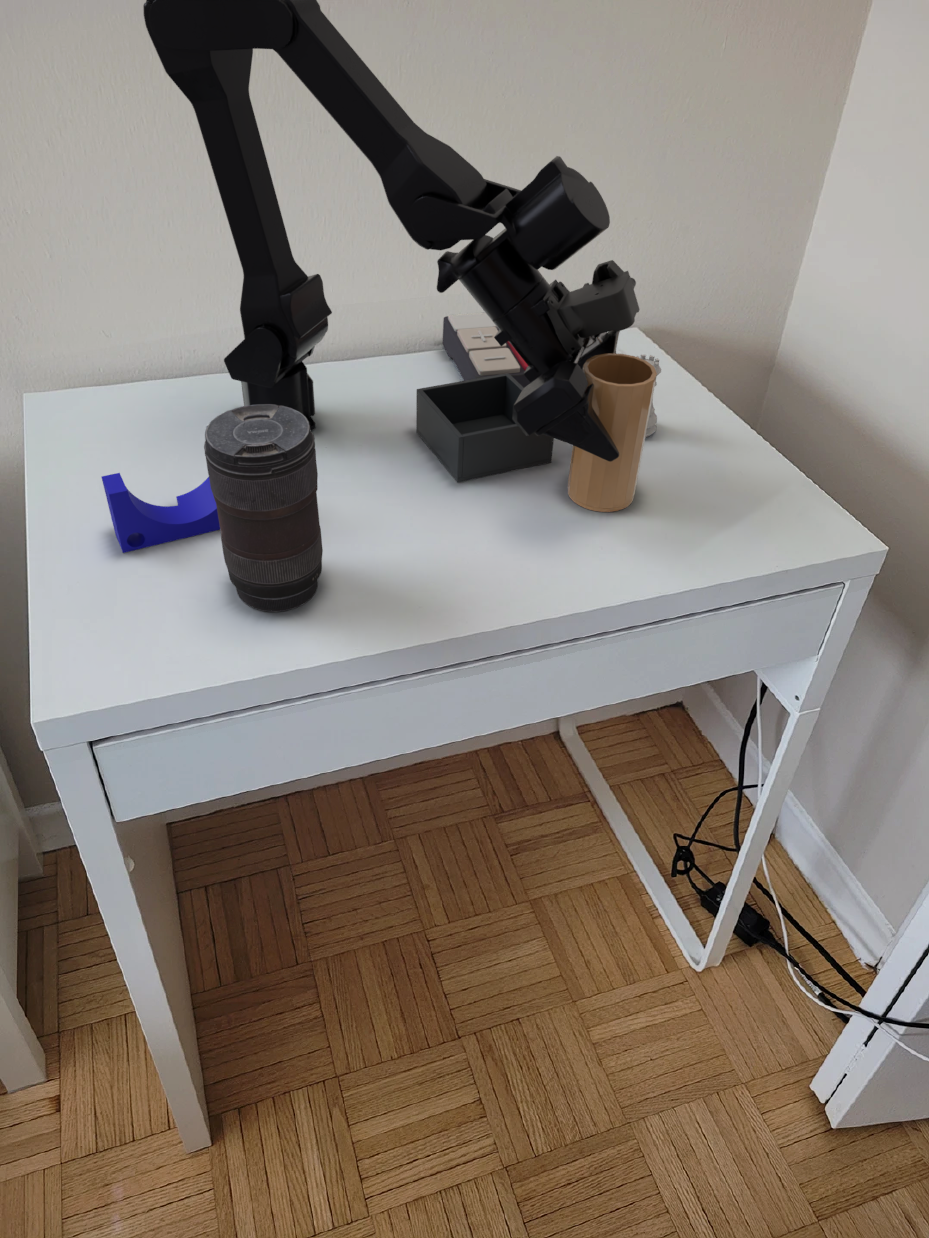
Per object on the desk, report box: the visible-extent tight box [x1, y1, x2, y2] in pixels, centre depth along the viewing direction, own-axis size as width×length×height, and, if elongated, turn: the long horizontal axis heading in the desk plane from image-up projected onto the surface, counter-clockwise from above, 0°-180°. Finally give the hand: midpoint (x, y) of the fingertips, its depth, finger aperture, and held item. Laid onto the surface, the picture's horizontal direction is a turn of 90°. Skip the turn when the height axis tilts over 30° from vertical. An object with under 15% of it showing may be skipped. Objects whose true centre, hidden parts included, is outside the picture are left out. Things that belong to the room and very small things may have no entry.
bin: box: [415, 373, 555, 483], centre depth 96 cm, size 10×10×5 cm
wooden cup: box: [567, 353, 658, 513], centre depth 88 cm, size 6×6×13 cm
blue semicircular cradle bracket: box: [101, 472, 220, 554], centre depth 84 cm, size 12×4×6 cm, turn 118°
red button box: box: [442, 311, 541, 388], centre depth 111 cm, size 11×4×15 cm
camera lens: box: [203, 404, 324, 613], centre depth 74 cm, size 8×8×15 cm
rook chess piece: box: [635, 354, 662, 439], centre depth 99 cm, size 4×4×8 cm
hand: (624, 434), depth 88 cm, fingers open, 9 cm apart
